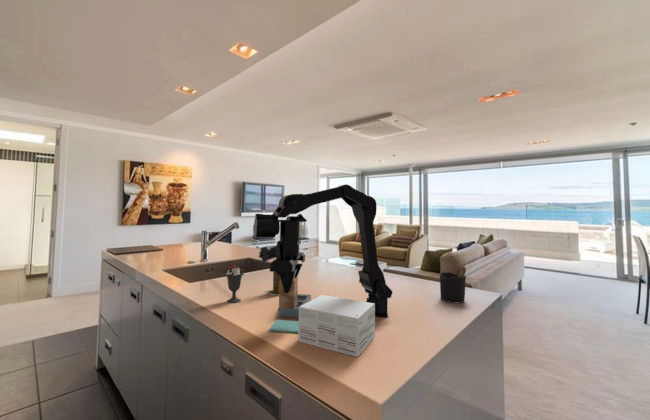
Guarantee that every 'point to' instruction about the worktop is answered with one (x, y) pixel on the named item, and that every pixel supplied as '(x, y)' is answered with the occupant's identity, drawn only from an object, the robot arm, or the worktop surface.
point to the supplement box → (337, 324)
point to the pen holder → (452, 287)
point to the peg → (288, 295)
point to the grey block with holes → (295, 312)
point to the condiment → (275, 284)
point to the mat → (285, 326)
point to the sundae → (234, 281)
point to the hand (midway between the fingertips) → (288, 290)
